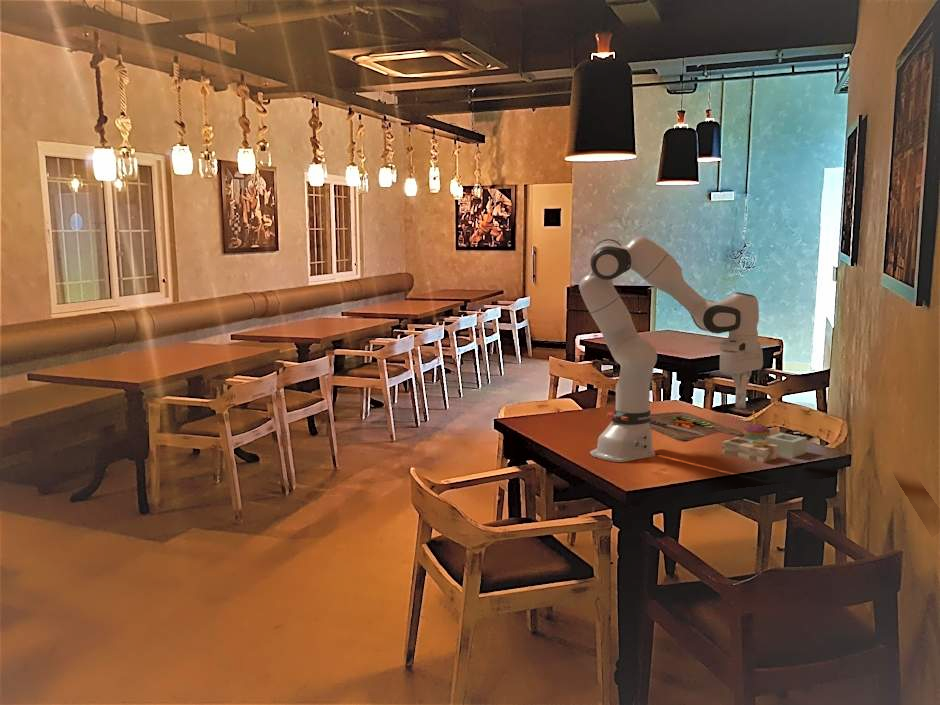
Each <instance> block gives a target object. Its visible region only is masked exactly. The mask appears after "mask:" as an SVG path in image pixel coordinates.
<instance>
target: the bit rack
mask: <svg viewBox="0 0 940 705" xmlns="http://www.w3.org/2000/svg"><path fill="white" fill-rule="evenodd" d="M765 440H766V441H770V444H775V445H778V456H780V457H781V456H782V457H787V458H791V459H794V458H796V457H798V456H802V455H804V454H806V453H807V448H808V447H807V446H808V445H807V444H808V438H807V437H805V436H800V435H793V434H789V433H785V432H779V433H776V434H773V435H768V436H766V439H765Z"/></svg>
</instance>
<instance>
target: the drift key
mask: <svg viewBox="0 0 940 705" xmlns="http://www.w3.org/2000/svg"><path fill="white" fill-rule="evenodd" d="M766 440H767V439H765V440H761V439H758V440H755V441H752V445H755V446H757V447H765V446H767V445H769V443H770V441H766Z"/></svg>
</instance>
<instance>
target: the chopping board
mask: <svg viewBox="0 0 940 705" xmlns="http://www.w3.org/2000/svg"><path fill="white" fill-rule="evenodd" d="M650 415H651V417H650V422H649V425H650V428H651V431H654V430H655V432H657V433H660V434H662V435H663V436H664V435H665V436H666V435H667V437H669V438H672V439H673V440H677V441H679V442H684V443H685V442H691V441H694V440H698V439H701V438H703V437H708V436H712V435H715V434H718V433H721V434H726V435H731V436H735V437H742V436H741V435H743V436H744V431H740V430H737V429H734V428H732V427H729V426H726V425H723V424H720V423H717V422H714V421H711V420H710V419H706V418H704V417H703V418H702V417H701V416H697V415H695V414H691V413H688V412H685V411H673V412H670V411H668V412H657V413H656V412H655V413H650ZM735 433H737V434H735Z"/></svg>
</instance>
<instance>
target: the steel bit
mask: <svg viewBox="0 0 940 705" xmlns="http://www.w3.org/2000/svg"><path fill="white" fill-rule="evenodd" d="M739 379H740V381H741V386H739V387H735V399H734V402H735V404H734V407H735V408H737V409H745V408H746V406H747V404H746V403H747V387H748V386H747V374H746V373H740V376H739Z"/></svg>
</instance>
